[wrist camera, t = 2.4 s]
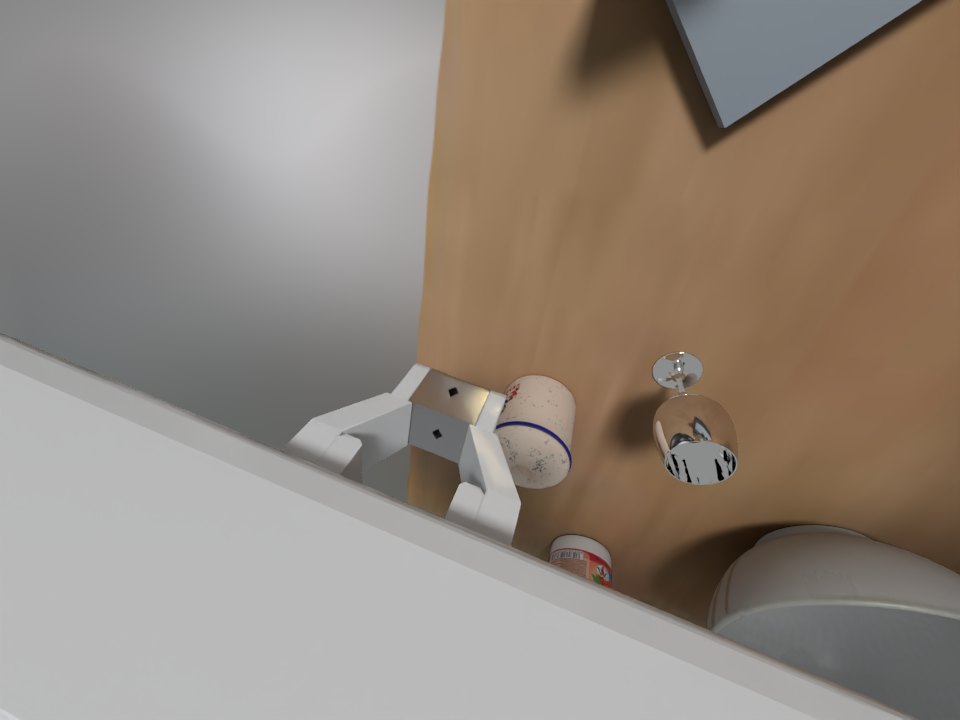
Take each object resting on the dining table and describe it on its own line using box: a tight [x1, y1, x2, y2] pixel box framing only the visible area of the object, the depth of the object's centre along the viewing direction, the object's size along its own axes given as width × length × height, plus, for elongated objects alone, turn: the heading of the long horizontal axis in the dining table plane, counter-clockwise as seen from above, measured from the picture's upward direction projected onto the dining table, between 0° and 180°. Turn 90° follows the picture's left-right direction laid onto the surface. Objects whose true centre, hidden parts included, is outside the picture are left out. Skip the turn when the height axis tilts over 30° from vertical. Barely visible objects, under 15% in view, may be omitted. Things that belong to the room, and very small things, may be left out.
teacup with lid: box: [494, 375, 576, 489], centre depth 39 cm, size 12×9×12 cm
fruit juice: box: [549, 535, 612, 589], centre depth 47 cm, size 9×9×28 cm
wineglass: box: [652, 352, 738, 485], centre depth 31 cm, size 6×6×12 cm
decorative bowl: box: [706, 525, 960, 720], centre depth 39 cm, size 27×27×12 cm
